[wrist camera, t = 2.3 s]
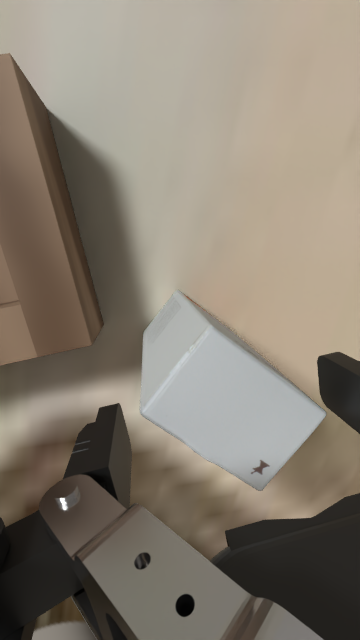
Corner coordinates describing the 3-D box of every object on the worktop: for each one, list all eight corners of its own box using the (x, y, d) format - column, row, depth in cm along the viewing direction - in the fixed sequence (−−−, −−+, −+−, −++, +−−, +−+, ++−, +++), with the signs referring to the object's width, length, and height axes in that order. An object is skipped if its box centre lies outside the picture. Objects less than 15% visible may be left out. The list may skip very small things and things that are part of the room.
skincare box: (238, 333, 23) (334, 416, 11) (203, 376, 23) (261, 498, 12) (175, 285, 21) (212, 321, 10) (140, 331, 22) (134, 418, 10)
